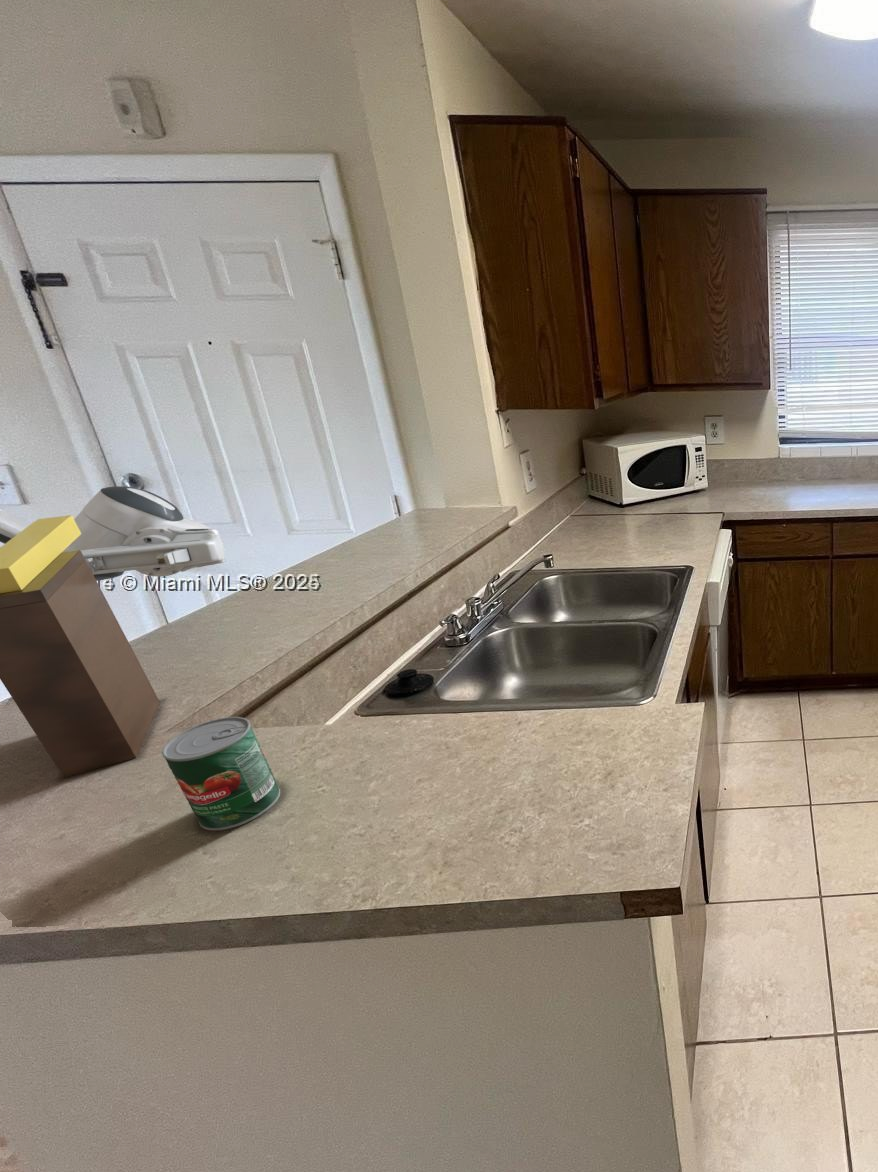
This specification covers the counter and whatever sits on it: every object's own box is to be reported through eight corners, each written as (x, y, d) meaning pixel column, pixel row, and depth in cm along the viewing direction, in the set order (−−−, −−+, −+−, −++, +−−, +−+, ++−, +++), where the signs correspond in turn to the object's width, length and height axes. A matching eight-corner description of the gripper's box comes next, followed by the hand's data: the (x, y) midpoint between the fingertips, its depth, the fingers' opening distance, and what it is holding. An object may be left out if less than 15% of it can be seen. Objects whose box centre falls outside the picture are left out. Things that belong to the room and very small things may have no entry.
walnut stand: (63, 777, 81) (-49, 604, 71) (97, 717, 93) (5, 560, 82) (136, 757, 85) (40, 589, 74) (160, 701, 97) (80, 549, 86)
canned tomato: (192, 841, 72) (151, 768, 67) (207, 799, 78) (170, 730, 74) (277, 814, 76) (244, 743, 71) (284, 776, 82) (254, 709, 77)
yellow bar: (-22, 597, 72) (-37, 574, 71) (47, 538, 90) (37, 519, 89) (22, 590, 74) (8, 567, 73) (81, 533, 92) (71, 514, 91)
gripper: (73, 541, 105) (23, 553, 93) (227, 527, 114) (199, 537, 102) (86, 576, 107) (38, 593, 95) (237, 560, 116) (210, 573, 104)
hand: (123, 564), depth 98 cm, fingers open, 8 cm apart
